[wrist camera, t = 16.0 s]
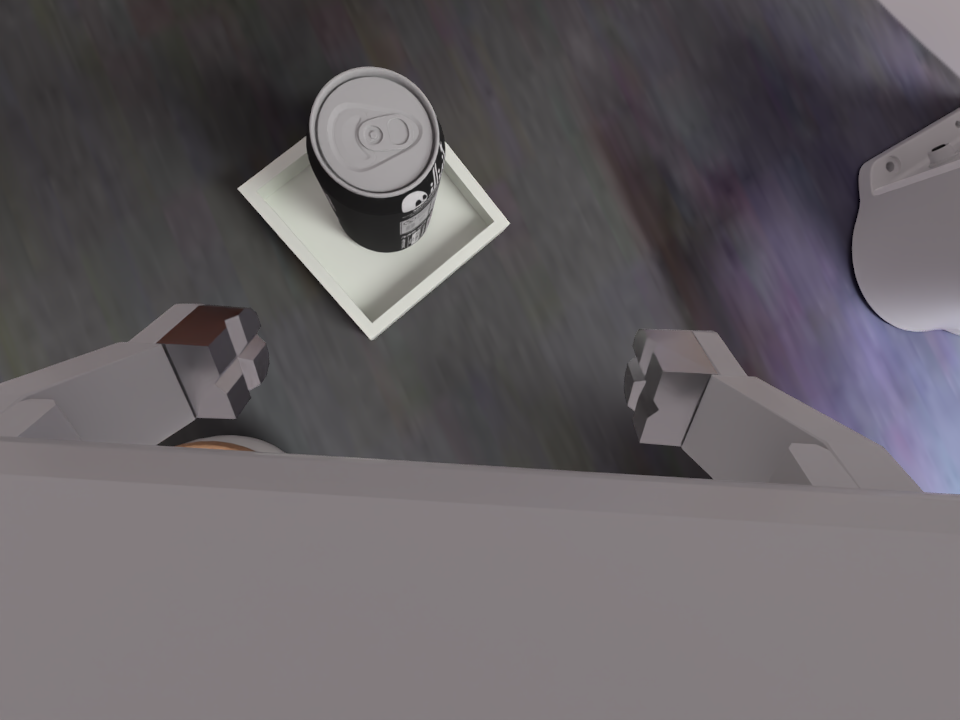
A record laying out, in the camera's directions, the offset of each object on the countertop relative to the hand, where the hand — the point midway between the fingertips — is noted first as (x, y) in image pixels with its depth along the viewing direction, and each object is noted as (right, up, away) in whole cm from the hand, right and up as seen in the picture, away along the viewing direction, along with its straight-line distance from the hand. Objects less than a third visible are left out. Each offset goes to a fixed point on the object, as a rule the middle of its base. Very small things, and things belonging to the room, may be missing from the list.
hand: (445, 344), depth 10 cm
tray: (-6, +10, +23) cm, 26 cm away
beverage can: (-6, +10, +22) cm, 26 cm away
